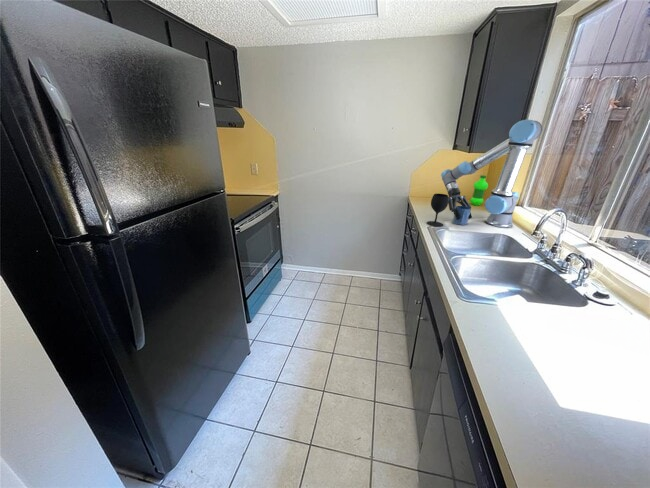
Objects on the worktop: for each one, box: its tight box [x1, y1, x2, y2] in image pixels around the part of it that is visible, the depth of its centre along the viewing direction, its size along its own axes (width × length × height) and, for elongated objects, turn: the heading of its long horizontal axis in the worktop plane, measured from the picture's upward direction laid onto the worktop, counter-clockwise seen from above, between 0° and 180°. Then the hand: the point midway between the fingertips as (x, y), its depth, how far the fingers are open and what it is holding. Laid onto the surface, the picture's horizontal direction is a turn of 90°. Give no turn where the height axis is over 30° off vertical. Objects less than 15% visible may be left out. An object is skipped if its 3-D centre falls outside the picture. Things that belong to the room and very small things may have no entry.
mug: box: [452, 205, 472, 226], centre depth 174 cm, size 12×9×11 cm
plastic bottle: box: [469, 174, 489, 207], centre depth 220 cm, size 10×10×25 cm
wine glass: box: [426, 193, 449, 228], centre depth 170 cm, size 10×10×20 cm
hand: (464, 218), depth 174 cm, fingers closed on mug, 9 cm apart
